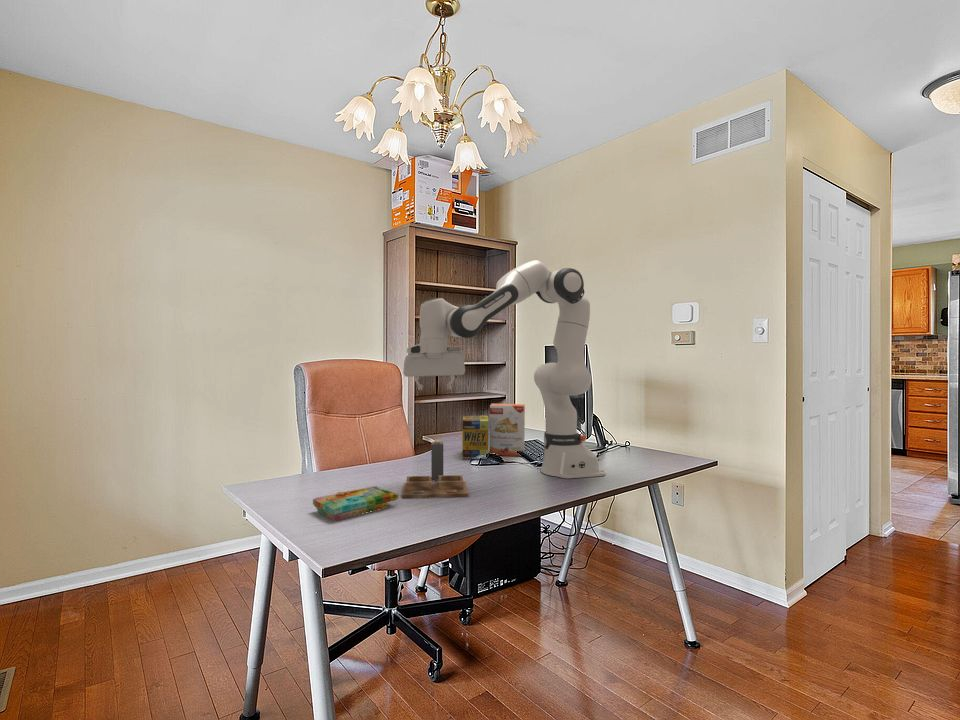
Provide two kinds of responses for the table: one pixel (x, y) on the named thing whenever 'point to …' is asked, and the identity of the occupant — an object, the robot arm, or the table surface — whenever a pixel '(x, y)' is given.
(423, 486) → the socket board
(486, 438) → the protein box
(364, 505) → the puzzle game
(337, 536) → the table surface
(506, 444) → the cracker box
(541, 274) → the robot arm
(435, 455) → the plug
